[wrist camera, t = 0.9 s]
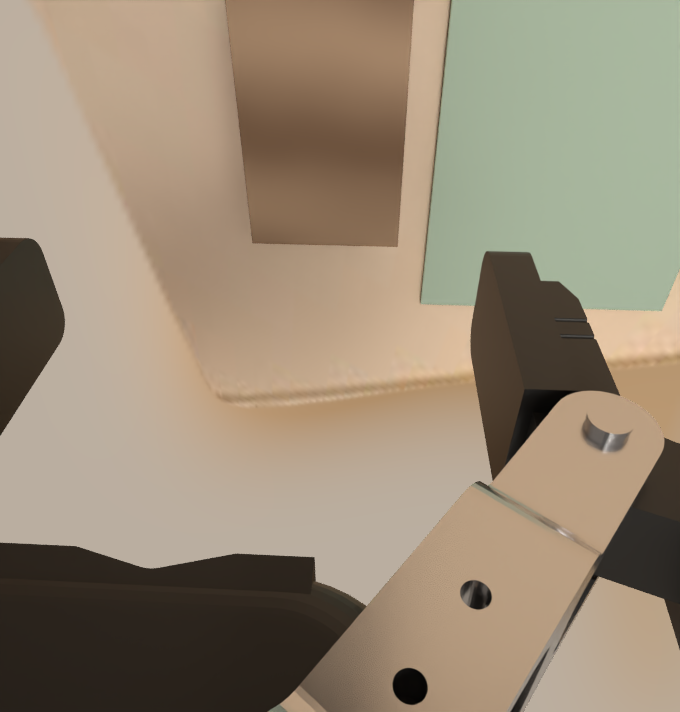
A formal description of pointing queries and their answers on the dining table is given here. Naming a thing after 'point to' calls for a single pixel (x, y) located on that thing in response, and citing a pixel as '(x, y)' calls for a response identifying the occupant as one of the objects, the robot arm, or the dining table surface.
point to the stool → (322, 117)
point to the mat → (559, 149)
